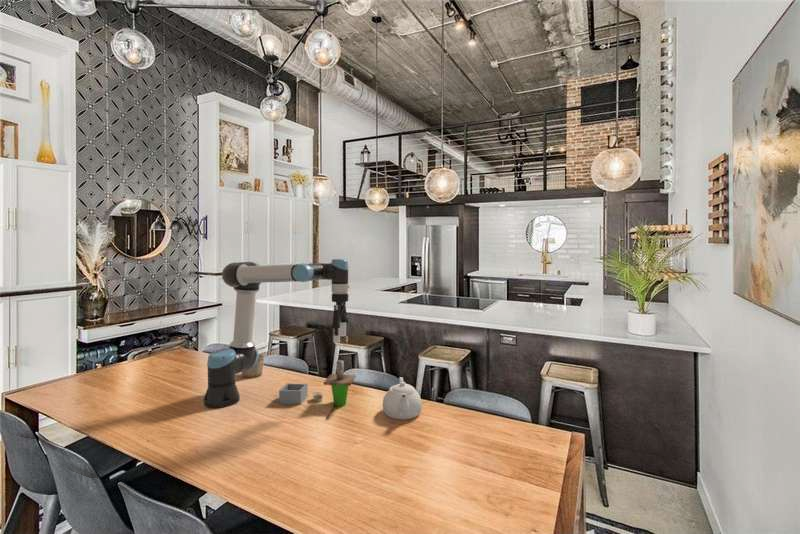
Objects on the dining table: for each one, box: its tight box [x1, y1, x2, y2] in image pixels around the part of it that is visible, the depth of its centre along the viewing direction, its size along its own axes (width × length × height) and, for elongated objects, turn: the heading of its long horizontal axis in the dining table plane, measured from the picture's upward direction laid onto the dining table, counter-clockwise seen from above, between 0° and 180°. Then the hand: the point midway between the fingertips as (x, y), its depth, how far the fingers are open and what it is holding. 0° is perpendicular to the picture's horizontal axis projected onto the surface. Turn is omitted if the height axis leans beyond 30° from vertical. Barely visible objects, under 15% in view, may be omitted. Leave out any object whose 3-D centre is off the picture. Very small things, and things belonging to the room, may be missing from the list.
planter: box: [240, 353, 265, 379], centre depth 224 cm, size 13×13×10 cm
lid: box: [323, 360, 356, 387], centre depth 181 cm, size 12×12×9 cm
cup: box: [330, 385, 349, 408], centre depth 181 cm, size 9×9×11 cm
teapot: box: [382, 376, 423, 421], centre depth 173 cm, size 19×18×14 cm
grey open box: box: [278, 382, 309, 405], centre depth 184 cm, size 10×10×7 cm
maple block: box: [312, 391, 323, 403], centre depth 184 cm, size 4×4×4 cm
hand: (340, 339), depth 181 cm, fingers open, 13 cm apart
